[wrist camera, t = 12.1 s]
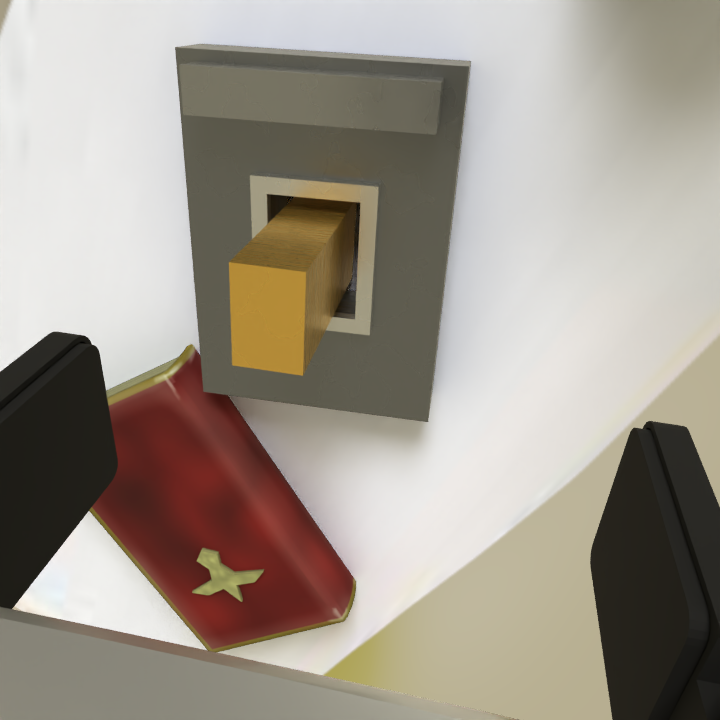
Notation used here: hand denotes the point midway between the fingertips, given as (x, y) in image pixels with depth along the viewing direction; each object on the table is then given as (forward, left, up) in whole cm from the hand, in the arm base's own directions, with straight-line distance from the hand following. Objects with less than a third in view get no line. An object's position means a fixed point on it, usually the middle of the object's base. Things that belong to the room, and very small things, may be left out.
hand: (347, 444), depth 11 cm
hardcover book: (+24, -13, -25) cm, 37 cm away
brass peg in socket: (+4, -6, -24) cm, 25 cm away
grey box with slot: (+4, -6, -24) cm, 25 cm away
